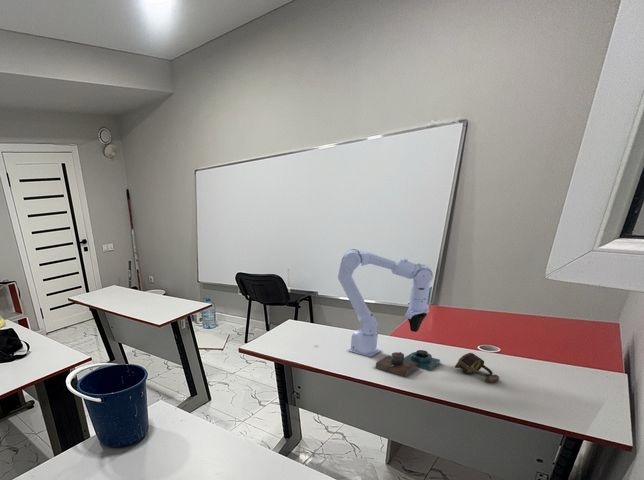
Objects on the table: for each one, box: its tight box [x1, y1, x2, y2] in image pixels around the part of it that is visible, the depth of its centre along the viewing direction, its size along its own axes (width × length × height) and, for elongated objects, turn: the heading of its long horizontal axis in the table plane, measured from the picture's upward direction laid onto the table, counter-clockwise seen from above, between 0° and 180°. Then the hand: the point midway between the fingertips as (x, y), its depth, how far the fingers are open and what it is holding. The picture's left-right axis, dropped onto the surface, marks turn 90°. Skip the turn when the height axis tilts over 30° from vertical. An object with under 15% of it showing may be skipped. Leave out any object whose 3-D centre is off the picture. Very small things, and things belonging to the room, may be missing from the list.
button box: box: [404, 351, 441, 371], centre depth 138 cm, size 10×8×4 cm
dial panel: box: [375, 354, 419, 378], centre depth 136 cm, size 11×9×3 cm
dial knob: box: [391, 351, 405, 365], centre depth 135 cm, size 4×4×4 cm
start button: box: [415, 349, 429, 357], centre depth 137 cm, size 4×4×2 cm
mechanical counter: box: [454, 352, 500, 383], centre depth 125 cm, size 7×13×10 cm
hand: (414, 331), depth 142 cm, fingers closed
